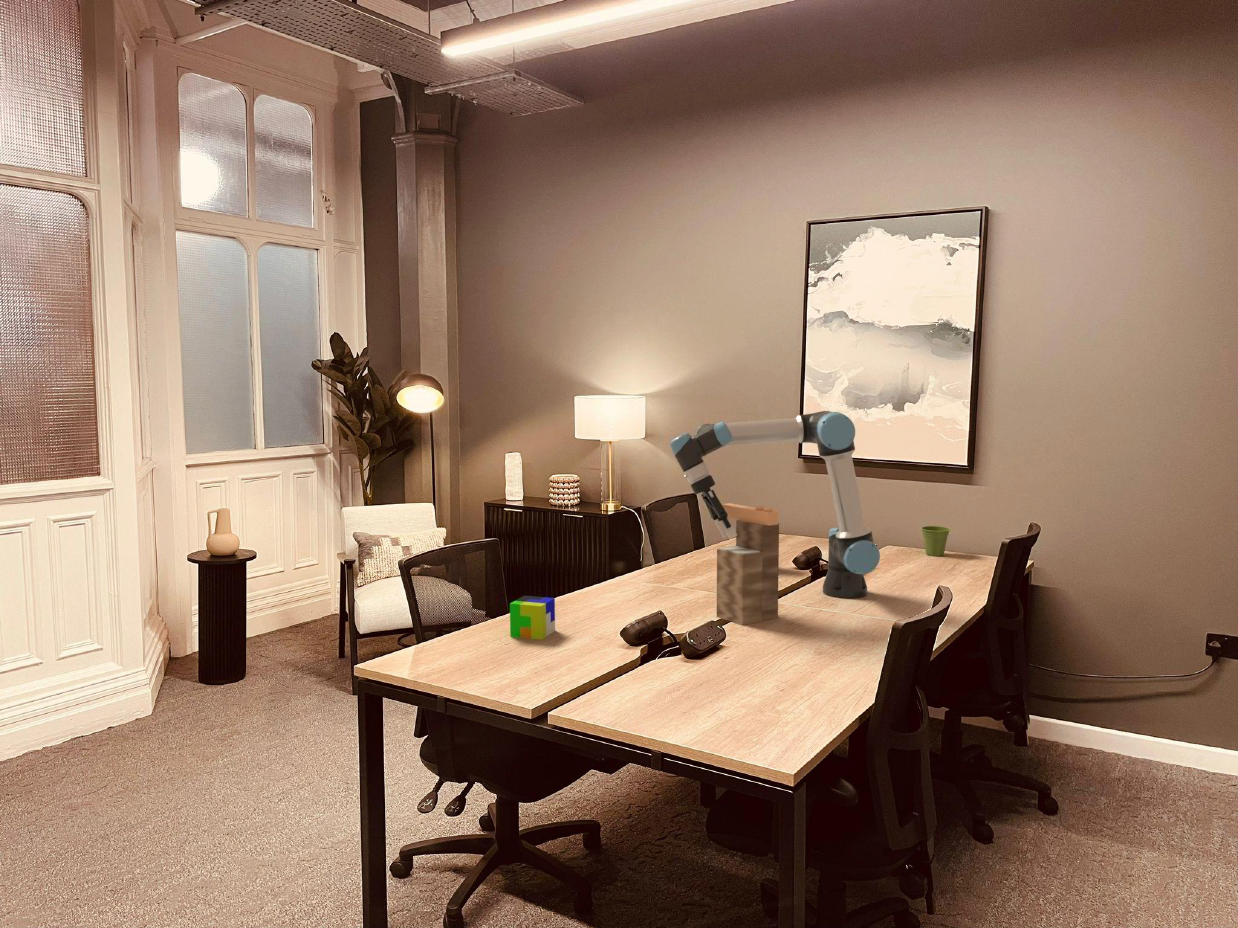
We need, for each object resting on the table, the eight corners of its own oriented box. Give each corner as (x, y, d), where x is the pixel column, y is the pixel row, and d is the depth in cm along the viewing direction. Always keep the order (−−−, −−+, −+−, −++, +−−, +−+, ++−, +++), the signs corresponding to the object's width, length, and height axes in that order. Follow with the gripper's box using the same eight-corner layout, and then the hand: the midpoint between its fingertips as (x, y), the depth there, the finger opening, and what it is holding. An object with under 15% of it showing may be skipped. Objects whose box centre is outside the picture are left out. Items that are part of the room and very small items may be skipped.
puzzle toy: (555, 630, 278) (554, 598, 277) (541, 639, 269) (541, 606, 268) (524, 627, 281) (524, 595, 280) (510, 636, 272) (509, 603, 271)
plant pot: (915, 552, 393) (915, 526, 392) (941, 551, 394) (942, 525, 393) (927, 557, 381) (928, 530, 380) (954, 557, 382) (955, 530, 381)
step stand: (716, 616, 293) (717, 522, 290) (751, 609, 301) (752, 518, 298) (742, 625, 283) (743, 528, 280) (777, 617, 291) (779, 523, 288)
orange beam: (720, 516, 302) (720, 501, 302) (730, 515, 305) (730, 500, 304) (768, 525, 284) (768, 509, 284) (777, 524, 287) (778, 508, 286)
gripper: (685, 485, 314) (714, 541, 313) (694, 482, 288) (725, 543, 288) (705, 475, 314) (734, 530, 313) (715, 471, 289) (747, 531, 288)
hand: (730, 537), depth 301 cm, fingers open, 13 cm apart
